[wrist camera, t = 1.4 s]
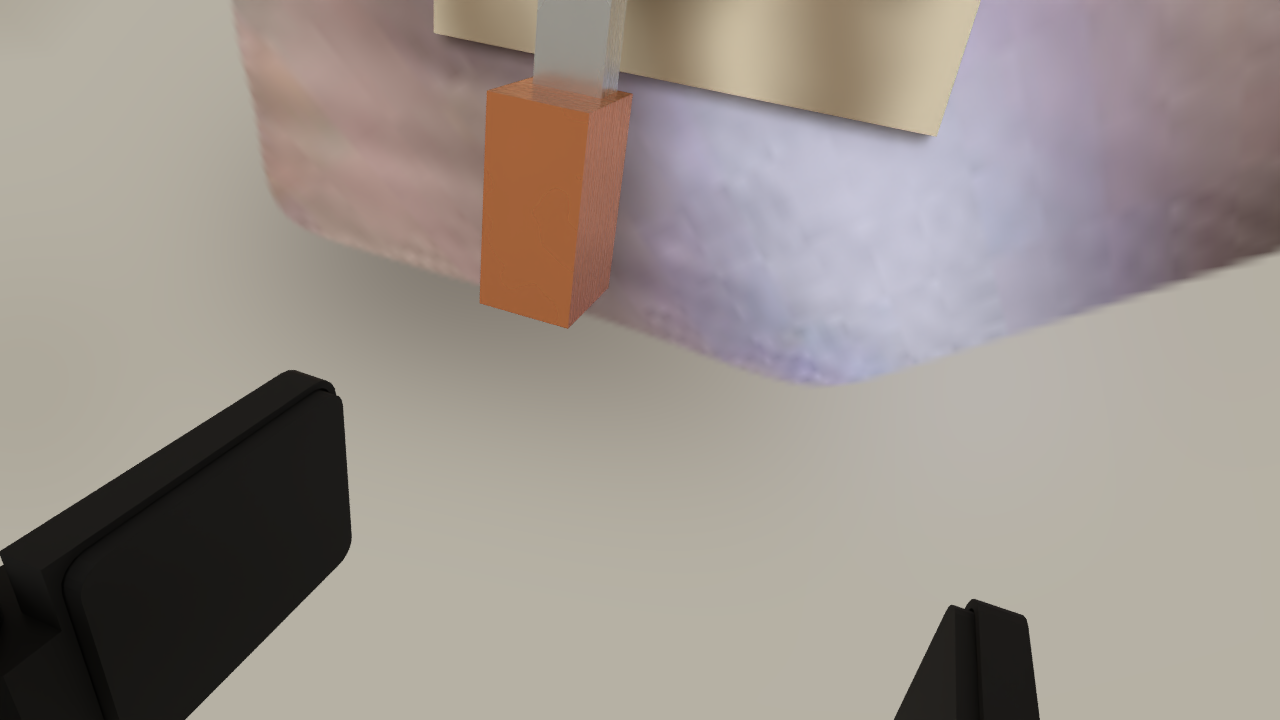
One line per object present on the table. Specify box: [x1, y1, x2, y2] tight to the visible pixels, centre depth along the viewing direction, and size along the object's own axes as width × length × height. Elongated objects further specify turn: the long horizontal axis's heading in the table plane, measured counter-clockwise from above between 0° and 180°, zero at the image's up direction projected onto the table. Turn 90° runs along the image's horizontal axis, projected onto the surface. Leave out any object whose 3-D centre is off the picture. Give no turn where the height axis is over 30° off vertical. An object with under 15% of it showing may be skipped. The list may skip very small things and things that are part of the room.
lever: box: [480, 0, 633, 329], centre depth 20 cm, size 15×3×3 cm, turn 172°
